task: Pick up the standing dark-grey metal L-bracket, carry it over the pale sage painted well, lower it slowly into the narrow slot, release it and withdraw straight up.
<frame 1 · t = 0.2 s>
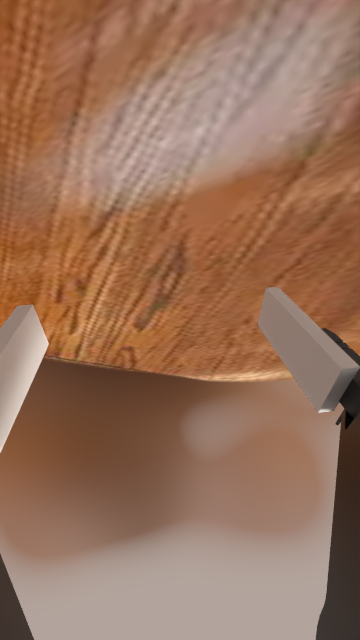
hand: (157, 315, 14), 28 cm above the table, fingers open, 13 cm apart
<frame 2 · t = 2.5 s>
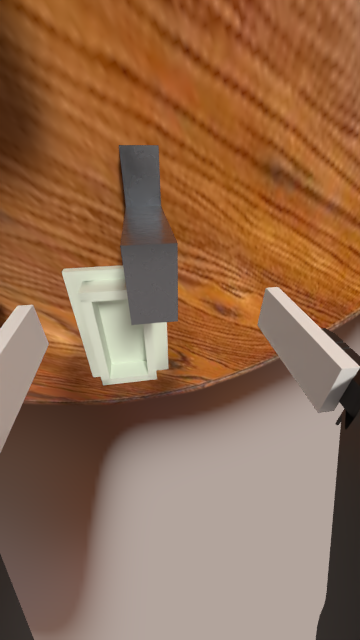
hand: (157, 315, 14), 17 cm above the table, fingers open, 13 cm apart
bracket: (145, 231, 28), on the table
well: (124, 324, 35), on the table
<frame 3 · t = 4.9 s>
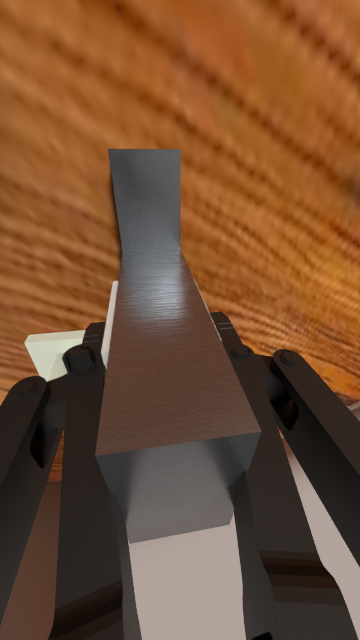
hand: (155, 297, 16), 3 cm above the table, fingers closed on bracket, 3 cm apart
bracket: (152, 280, 18), on the table, touching gripper
well: (121, 398, 25), on the table
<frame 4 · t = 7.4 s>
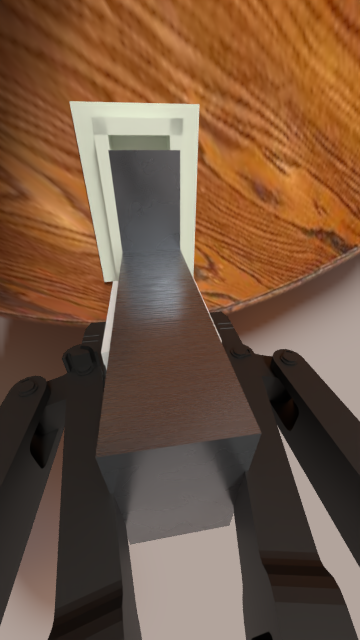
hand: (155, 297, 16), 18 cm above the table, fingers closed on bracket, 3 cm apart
bracket: (152, 281, 18), point 15 cm above the table, touching gripper
well: (144, 205, 29), on the table
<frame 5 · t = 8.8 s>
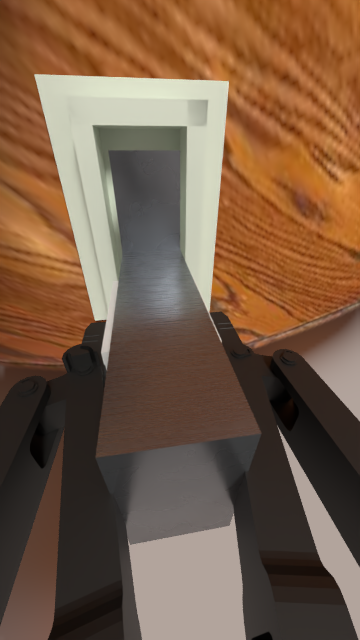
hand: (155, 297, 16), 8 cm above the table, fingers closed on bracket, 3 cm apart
bracket: (152, 281, 18), point 6 cm above the table, touching gripper
well: (146, 224, 21), on the table
when the fingers open (5 cm above the table, at t = 10.1 s): bracket drops 1 cm, resting on well.
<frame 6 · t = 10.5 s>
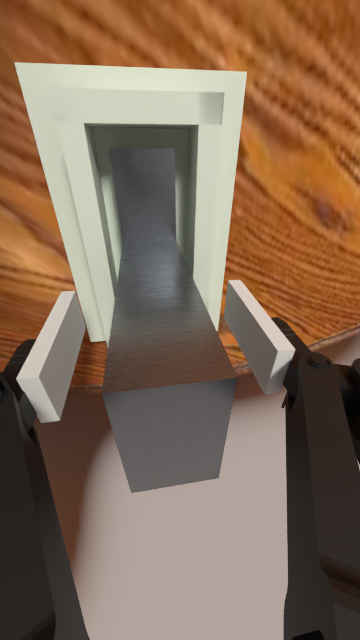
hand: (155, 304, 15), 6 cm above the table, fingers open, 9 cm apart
bracket: (151, 271, 19), point 1 cm above the table, touching well
well: (148, 236, 19), on the table
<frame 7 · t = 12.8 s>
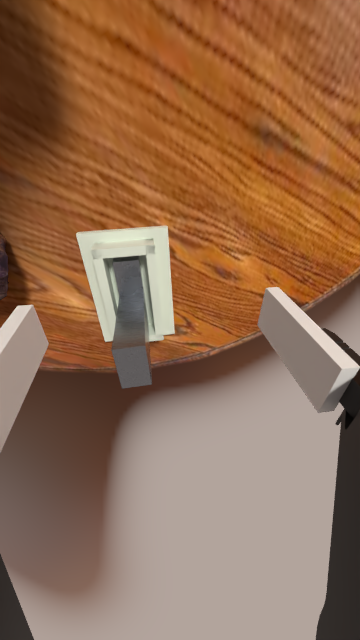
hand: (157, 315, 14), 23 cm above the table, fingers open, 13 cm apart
bracket: (134, 305, 39), point 1 cm above the table, touching well
well: (132, 288, 38), on the table
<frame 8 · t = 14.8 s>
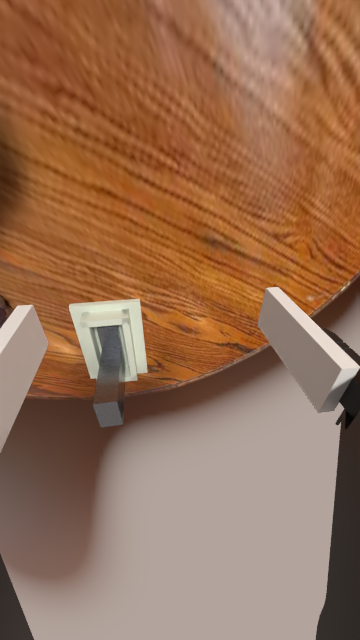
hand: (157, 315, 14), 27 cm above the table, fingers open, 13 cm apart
bracket: (114, 353, 49), point 1 cm above the table, touching well
well: (113, 340, 48), on the table
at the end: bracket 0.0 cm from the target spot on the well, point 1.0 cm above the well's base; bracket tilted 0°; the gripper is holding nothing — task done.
